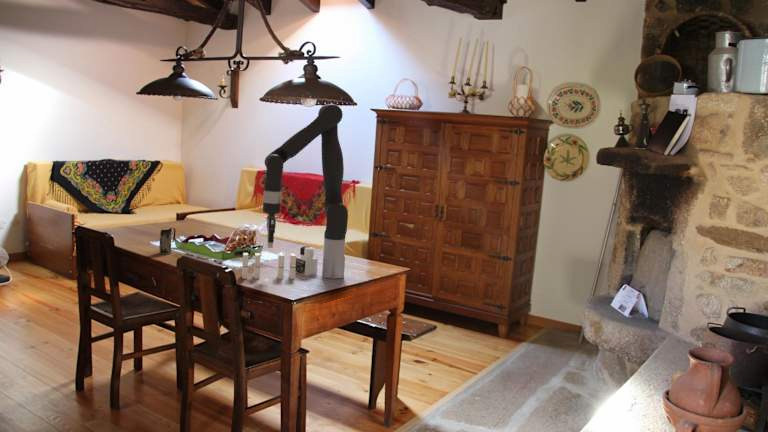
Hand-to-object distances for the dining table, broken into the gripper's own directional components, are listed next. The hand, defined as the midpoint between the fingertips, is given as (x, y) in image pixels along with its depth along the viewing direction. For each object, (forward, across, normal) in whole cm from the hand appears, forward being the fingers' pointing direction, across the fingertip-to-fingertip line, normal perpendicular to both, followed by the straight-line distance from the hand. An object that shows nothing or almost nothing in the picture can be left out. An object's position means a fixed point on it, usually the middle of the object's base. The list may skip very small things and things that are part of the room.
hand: (270, 241), depth 273 cm
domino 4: (+16, 0, -5) cm, 17 cm away
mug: (+16, +48, +45) cm, 68 cm away
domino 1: (+16, 0, +10) cm, 19 cm away
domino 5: (+16, 0, -10) cm, 19 cm away
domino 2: (+16, 0, +5) cm, 17 cm away
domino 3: (+2, 0, 0) cm, 2 cm away
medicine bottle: (+16, +8, -17) cm, 25 cm away
